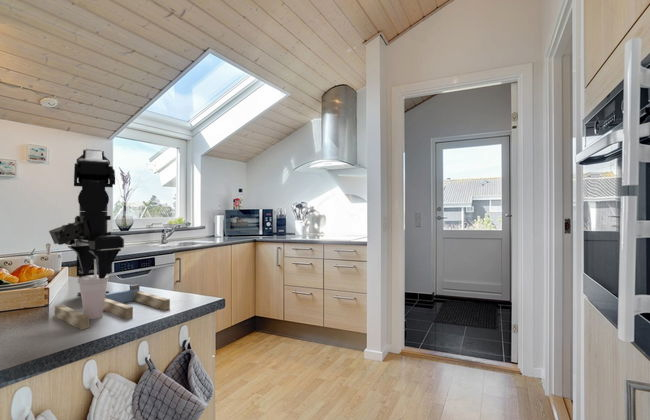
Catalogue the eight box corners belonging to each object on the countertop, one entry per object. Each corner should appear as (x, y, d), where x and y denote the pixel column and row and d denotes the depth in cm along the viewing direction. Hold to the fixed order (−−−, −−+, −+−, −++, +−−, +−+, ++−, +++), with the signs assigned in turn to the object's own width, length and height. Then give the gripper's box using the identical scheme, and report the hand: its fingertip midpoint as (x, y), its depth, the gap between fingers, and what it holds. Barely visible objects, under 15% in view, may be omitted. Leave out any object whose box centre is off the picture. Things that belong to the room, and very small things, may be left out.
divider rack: (54, 316, 89) (54, 305, 89) (139, 299, 105) (139, 290, 105) (80, 329, 79) (80, 318, 79) (169, 308, 96) (169, 299, 96)
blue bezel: (95, 306, 97) (95, 291, 97) (136, 298, 106) (136, 284, 106) (97, 307, 96) (97, 291, 96) (139, 299, 105) (139, 284, 105)
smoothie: (93, 321, 85) (94, 261, 85) (70, 320, 86) (70, 260, 86) (115, 313, 91) (115, 257, 91) (93, 312, 92) (93, 256, 92)
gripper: (40, 211, 87) (40, 276, 88) (69, 212, 76) (69, 287, 76) (91, 211, 96) (91, 270, 97) (125, 212, 85) (125, 278, 85)
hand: (93, 276), depth 88 cm, fingers open, 9 cm apart
